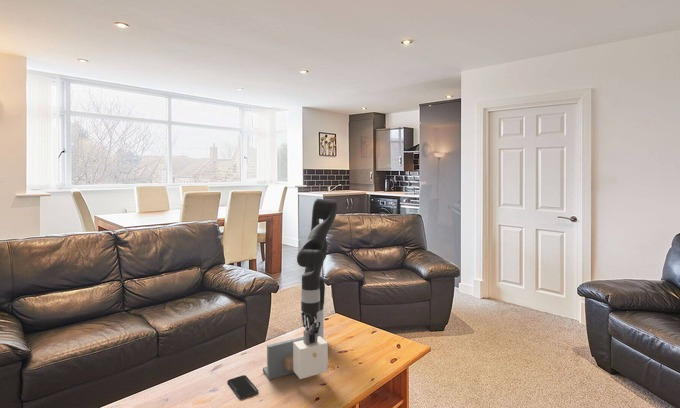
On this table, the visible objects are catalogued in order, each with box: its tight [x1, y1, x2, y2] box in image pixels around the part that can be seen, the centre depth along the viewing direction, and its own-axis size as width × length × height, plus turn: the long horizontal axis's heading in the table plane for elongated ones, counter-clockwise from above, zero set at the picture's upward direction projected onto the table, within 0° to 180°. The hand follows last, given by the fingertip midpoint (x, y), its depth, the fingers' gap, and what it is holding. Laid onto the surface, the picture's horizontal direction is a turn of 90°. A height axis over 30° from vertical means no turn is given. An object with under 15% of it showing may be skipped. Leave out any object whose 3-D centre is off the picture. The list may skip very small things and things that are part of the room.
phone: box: [226, 374, 259, 400], centre depth 148 cm, size 8×1×15 cm
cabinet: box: [293, 329, 329, 380], centre depth 149 cm, size 8×12×17 cm, turn 120°
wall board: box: [262, 336, 304, 381], centre depth 159 cm, size 12×20×14 cm, turn 120°
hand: (310, 340), depth 150 cm, fingers closed on cabinet, 2 cm apart
